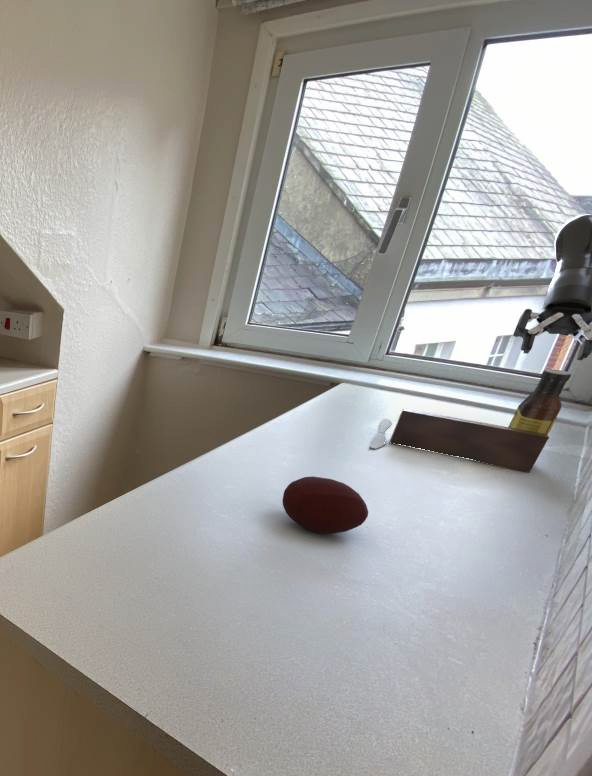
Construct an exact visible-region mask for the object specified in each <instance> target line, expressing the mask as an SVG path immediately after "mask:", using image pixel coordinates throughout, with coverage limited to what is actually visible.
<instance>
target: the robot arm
mask: <svg viewBox="0 0 592 776" xmlns="http://www.w3.org/2000/svg"><path fill="white" fill-rule="evenodd" d="M554 257H555V263H556V267H555V269H554V272H553V276H552V279H551V282H550V284H549V285H548V288H547V291H546V293H545V299H544V302H543V305H542V310H541V311H540V312H534V311H533V309H531V308H526V309H524V310H523V312H522V313H521V315H520V317H519V319H518V321H517V324H516V325H515V328H514V331H513V333H512V335H513V337H516V338H519V337H520V338H522V343H521V346H520V350H521V351H523V354H527V355H528V354H529V353H530V352H531V351H532V348H533V346H534V345H533V344H534V342H535V339H536V337H538V336H540V335H542V334H543V333H546V332H547V333H548V334H549V335H561V336H569V335H570V337H572V338H573V340H574V341H578V342H579V343H580V344H581V345H580V346H579V350H578V354H577V357H576V360H577V361H583V360H584V359H587V358H588V357H589V356H590V355H591V354H592V331H591V330H592V329H591V327H590V326H589V325H592V214H580V215H578V216H575V217H572V218H570V219H569V220H567V221H566V222H565V223H564V224H563V225H561V227H560V228H559V230H558V231H557V233H556V235H555V238H554ZM533 320H536V322H537V324H536V325H535V326H534V327H532V328H530V329H528V328H526V327H527V325H528V324H529V323H531V322H532V321H533Z"/></svg>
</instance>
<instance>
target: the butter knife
mask: <svg viewBox="0 0 592 776" xmlns="http://www.w3.org/2000/svg"><path fill="white" fill-rule="evenodd" d="M391 425H392V420H391V419H389V418H382V419H381V420H380V423H379V428H378V431H377V433H376V434H375V436H374V438H373V439H372V441H371V444H370V445H369V448H371V449H374V450H376V449H379V448H381V447H383V446H384V442H385V440H387V439H386V433H385V432H386V431H387V429H388V428H389V427H390V426H391ZM385 443H386V442H385ZM382 445H383V446H382Z"/></svg>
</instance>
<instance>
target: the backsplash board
mask: <svg viewBox="0 0 592 776" xmlns="http://www.w3.org/2000/svg"><path fill="white" fill-rule="evenodd" d="M549 439H550V436H549V434H548V435H547V434H543V433H538V432H532V431H527V430H521V429H516V428H510V427H508V426H504V425H499V424H494V423H493V424H492V423H489V422H482V421H478V420H477V421H476V420H472V419H466V418H460V417H455V416H449V415H443V414H438V413H432V412H427V411H422V410H415V409H410V408H404V407H403V408H402V410H401V413H400V415H399V417H398V419H397V422H396V423H395V427H394V429H393V432H392V434H391V436H390V439H389V443H390V442H391V443H395V444H401V445H406V446H411V447H415V448H421V449H425V450H430V451H434V452H438V453H443V454H448V455H453V456H459V457H464V458H469V459H473V460H476V461H480V462H479V463H481V462H484V463H483V464H485V463H488V464H487V465H490V464H493V465H492V466H495V465H496V467H500V466H501V467H500V468H504V467H505V468H504V469H510V470H514V471H519V472H524V473H527V474H528V473H529V474H530V473H531V471H532V469H533V467H534V465H535V464H536V462H537V460H538V458H539V457H540V455H541V453H542V451H543V450H544V448H545V446H546V444H547V442H548V440H549ZM395 444H394V445H395ZM438 453H437V454H438ZM443 454H442V455H443ZM476 461H475V462H476Z"/></svg>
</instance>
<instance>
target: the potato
mask: <svg viewBox="0 0 592 776" xmlns="http://www.w3.org/2000/svg"><path fill="white" fill-rule="evenodd" d="M281 502H282V506H283V509H284V512H285V513H286V515H287V516H288V517H289V518H290V519H291V520H292V521H293V522H295V523H296V525H299V526H301V527H302V528H304V529H307V530H309V531H312V532H314V533H317V534H325V535H330V534H337V533H346V532H348V531H350V530H351V531H352V530H353V529H356V528H358V527H360V526H362V525H363V524H364V523H365V521H366V520H367V519H368V516H369V509H368V506H367V503H366V502H365V500H364V499H363V498H362V495H360V493H359V492H357V491H356V490H354V489H353V488H352V487H351V486H349V485H348V484H346V483H345V482H341V481H339V480H335V479H332V478H327V477H322V476H321V477H319V476H314V475H313V476H304V477H301V478H298V479H296V480H294V481H291V482H290V483H289V484H288V485H287V486H286V488H285V489H284V491H283V495H282V501H281Z"/></svg>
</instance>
